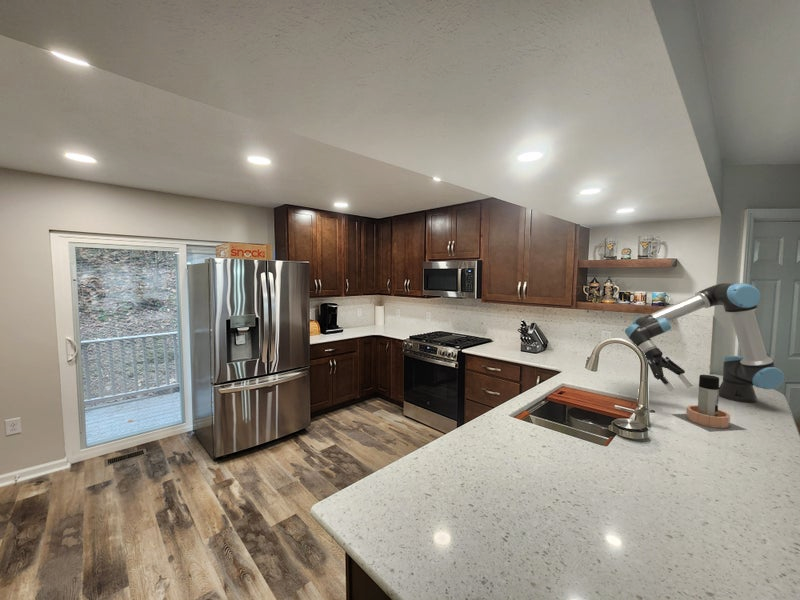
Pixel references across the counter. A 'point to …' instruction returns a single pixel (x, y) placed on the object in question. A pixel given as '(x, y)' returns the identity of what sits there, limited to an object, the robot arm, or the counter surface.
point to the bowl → (708, 418)
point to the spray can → (708, 395)
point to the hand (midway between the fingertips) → (682, 388)
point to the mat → (710, 429)
